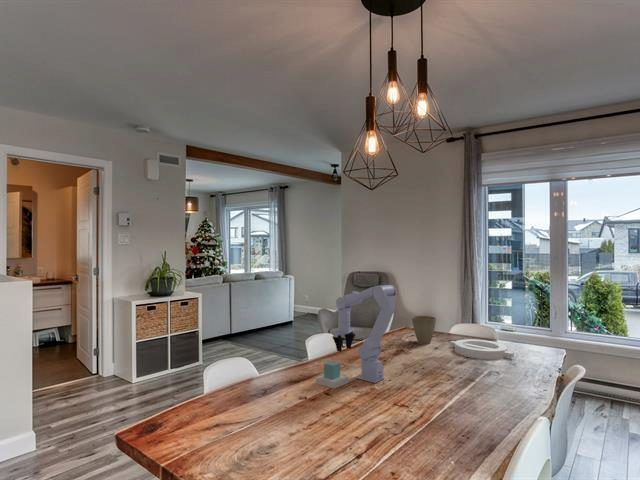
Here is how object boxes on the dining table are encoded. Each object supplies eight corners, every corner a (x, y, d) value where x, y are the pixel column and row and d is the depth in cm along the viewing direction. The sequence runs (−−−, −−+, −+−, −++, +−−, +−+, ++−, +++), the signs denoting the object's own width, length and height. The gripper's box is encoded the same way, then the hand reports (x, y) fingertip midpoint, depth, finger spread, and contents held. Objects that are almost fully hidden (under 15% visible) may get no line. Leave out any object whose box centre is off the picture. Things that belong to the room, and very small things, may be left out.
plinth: (348, 382, 173) (348, 376, 173) (334, 388, 165) (334, 382, 166) (330, 377, 180) (330, 372, 180) (316, 383, 172) (316, 377, 172)
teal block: (339, 376, 173) (340, 363, 173) (333, 379, 169) (333, 365, 169) (330, 374, 176) (331, 361, 176) (324, 377, 172) (324, 363, 172)
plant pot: (421, 339, 260) (421, 314, 260) (440, 343, 249) (440, 318, 249) (406, 342, 251) (407, 317, 251) (426, 346, 239) (426, 320, 240)
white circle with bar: (448, 346, 242) (448, 338, 242) (494, 347, 241) (494, 339, 241) (463, 359, 214) (463, 350, 214) (516, 360, 213) (516, 351, 213)
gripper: (346, 318, 199) (346, 345, 199) (328, 322, 188) (328, 351, 188) (357, 320, 195) (357, 348, 195) (340, 324, 184) (339, 353, 184)
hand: (343, 349), depth 191 cm, fingers open, 7 cm apart
